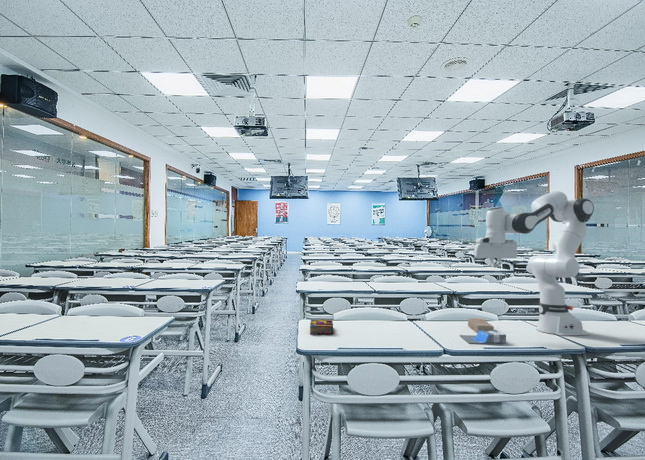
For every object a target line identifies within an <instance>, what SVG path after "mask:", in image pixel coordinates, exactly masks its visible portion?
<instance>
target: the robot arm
mask: <svg viewBox="0 0 645 460" xmlns="http://www.w3.org/2000/svg"><path fill="white" fill-rule="evenodd" d="M530 209H531V212H521V213H510V212H507V211H506V210H505V208H504V207H502V206H498V207H492V208H488V209H487V211H486V216H485V226H486V231H485V236H481V237H479V238H478V237H477V238H476V239H475V242H476V244H475V245H474V248H473V257H474V258H477V259H489V262H490V263H491V268H500V264H501V262H502V260H503V259H517V257H518V250H517V247H518V243H517V241H516V240H514V239H506V234H522V235H523V234H524V235H527V234H530V233H532V231H534V229H535V228H536V227H537V225H539V224H540V223H542V222H544V221H545V220H546V219H548V218H550V219H551V220H552V221H554V222H556V223H563V222H564V223H563V224H564V225H563V227H562V228H561V229H560V231H559V232H558V234H557V236H556V237H555V239H554V240H553V242H552V249H553V251H554V252H555V253H554V254H551V255H550V254H539V255H532V256H531V257H530V258H528V261H527V268H528V271H529V272H530V273H531V274H532V275H533V276H534V277H535V279H536V282H537V284H538V288H539V302H538V313H539V317H538V323H537V326H536V330H537V331H539V332H542V333H546V334H552V335H558V336H563V337H564V336H567V337H568V336H569V337H570V336H589V332H588V331H587V330H585V329H584V327H583V322H582V321H581V320H580V319H579V318H577V316H575V315H573V314H572V312H570V311H573V309H574V307H573V306H572V305H567V304H566V290H565V288H564V287H563V286H562V285H561V284H560V283H559V282H558V281H557V278H562V279H568V278H574V277H576V276H577V275H578V274H579V272H580V263H579V261H578V260H577V259H576V253H577V251H578V249H579V247H580V246H581V244H582V242H583V240H584V239H585V236H586V234H587V230H588V227H587V224H586V223H587V222H588V221H589V220H590V219H591V217H592V216H593V214H594V211H595V207H594V203H593V202H592V201H591V200H590V199H589V198H578V199H576V198H575V199H569V200H568V196H567V195H566V194H565V193H564V192H562V191H560V190H559V191H552V192H548V193H546V194H543V195H541V196H538V197H537V198H536V199H534V200H533V201H532V203H531V205H530ZM495 259H496V260H497V261H496V263H495V262H494V261H495ZM569 310H570V311H569Z"/></svg>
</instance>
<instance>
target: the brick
mask: <svg viewBox="0 0 645 460" xmlns="http://www.w3.org/2000/svg"><path fill="white" fill-rule="evenodd" d="M467 325H468V326H467V327H468V328H470V329H471V330H473V331H474V332H475V333H476V334H477V333H478V331H479V330H495V329H494V328H495V327H494V325H492V324H490V323H488V321H486V320H485V319H484V318H479V317H477V318H468V319H467Z"/></svg>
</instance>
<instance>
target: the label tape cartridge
mask: <svg viewBox="0 0 645 460" xmlns="http://www.w3.org/2000/svg"><path fill="white" fill-rule="evenodd" d="M472 339H474V340H475V341H477V342H479V343H503V344H504V343H507V334H505V333H504V332H501V331H499V330H496V329H494V330H479V331H478V333H477V332H476V337H475V338H472ZM477 339H478V340H480V341H478V340H477Z"/></svg>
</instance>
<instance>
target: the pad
mask: <svg viewBox="0 0 645 460" xmlns="http://www.w3.org/2000/svg"><path fill="white" fill-rule="evenodd" d="M476 336H477V334H476V335H473V334H472V335H471V334H470V335H469V334H461V335H459V337H460V338H461V339H462V340H463V341H465V342H466V343H467V344H470V345H504V343H479V342H477V341H475V340H474V339H472V338H475V337H476ZM477 340H478V339H477ZM478 341H480V340H478Z"/></svg>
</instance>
